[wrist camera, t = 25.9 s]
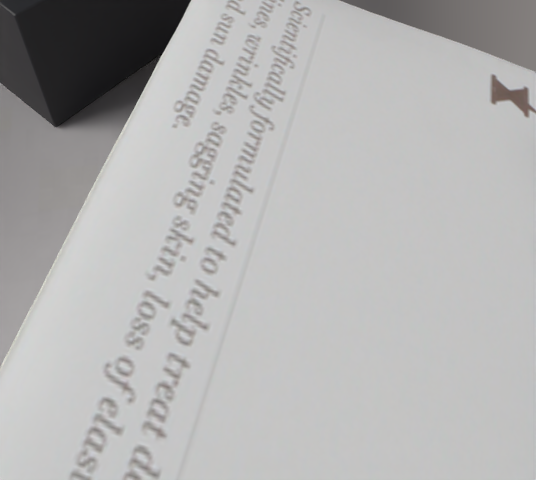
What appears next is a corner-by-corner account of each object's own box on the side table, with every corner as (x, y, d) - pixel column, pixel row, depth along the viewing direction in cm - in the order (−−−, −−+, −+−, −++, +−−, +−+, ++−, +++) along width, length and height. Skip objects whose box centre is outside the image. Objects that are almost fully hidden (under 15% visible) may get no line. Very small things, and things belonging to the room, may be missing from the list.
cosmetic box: (186, 282, 20) (200, -81, 7) (320, 325, 20) (593, 54, 7) (103, 501, 16) (-252, 669, 3) (271, 551, 16) (675, 924, 3)
